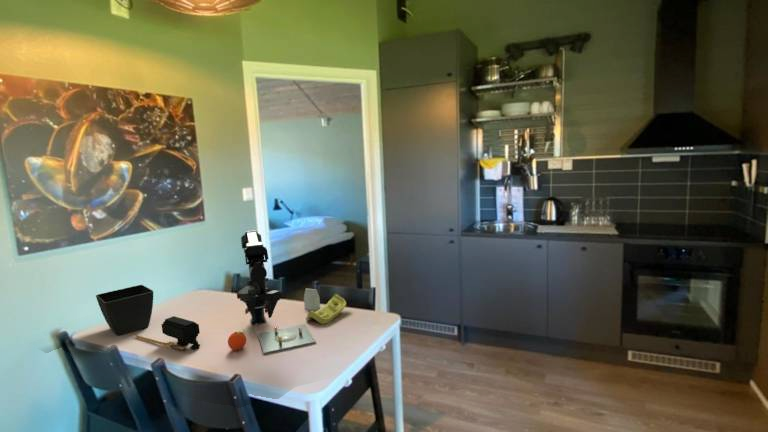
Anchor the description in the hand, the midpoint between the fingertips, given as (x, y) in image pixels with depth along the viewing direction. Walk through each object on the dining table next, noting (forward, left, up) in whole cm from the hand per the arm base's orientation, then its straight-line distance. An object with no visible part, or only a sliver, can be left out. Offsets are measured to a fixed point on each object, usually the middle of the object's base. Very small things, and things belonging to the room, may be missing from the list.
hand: (261, 316), depth 159 cm
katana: (-25, -39, -13) cm, 48 cm away
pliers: (-50, +6, -14) cm, 52 cm away
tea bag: (-33, +27, -13) cm, 45 cm away
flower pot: (-52, -53, -13) cm, 76 cm away
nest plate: (-4, +9, -13) cm, 16 cm away
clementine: (-4, -9, -13) cm, 16 cm away
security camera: (-20, -29, -13) cm, 38 cm away
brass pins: (-4, +11, -12) cm, 16 cm away
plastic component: (-20, +31, -13) cm, 39 cm away
